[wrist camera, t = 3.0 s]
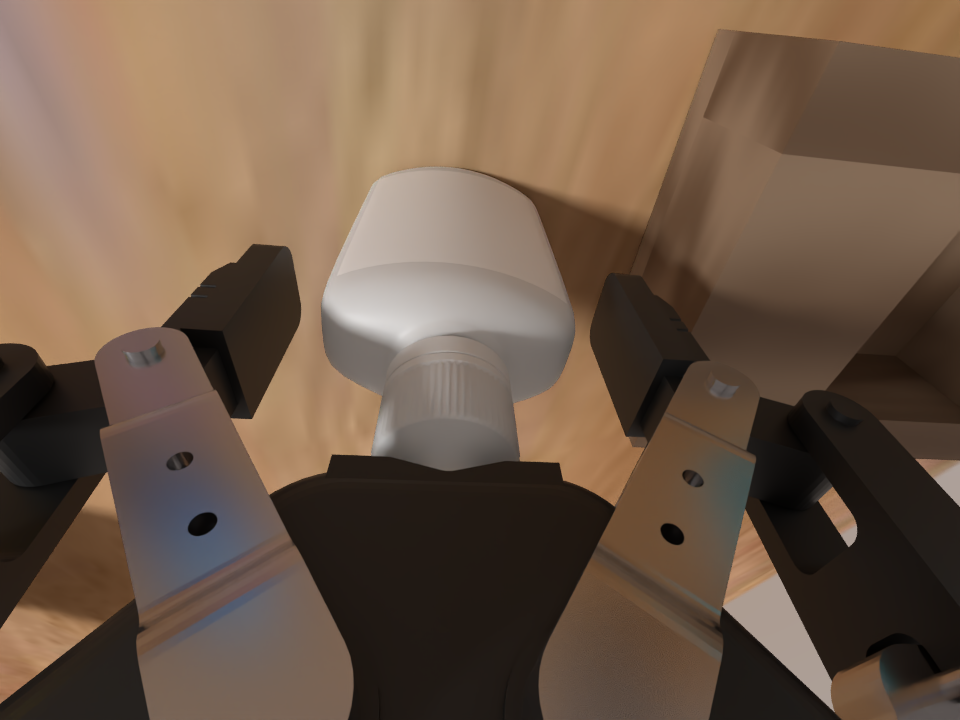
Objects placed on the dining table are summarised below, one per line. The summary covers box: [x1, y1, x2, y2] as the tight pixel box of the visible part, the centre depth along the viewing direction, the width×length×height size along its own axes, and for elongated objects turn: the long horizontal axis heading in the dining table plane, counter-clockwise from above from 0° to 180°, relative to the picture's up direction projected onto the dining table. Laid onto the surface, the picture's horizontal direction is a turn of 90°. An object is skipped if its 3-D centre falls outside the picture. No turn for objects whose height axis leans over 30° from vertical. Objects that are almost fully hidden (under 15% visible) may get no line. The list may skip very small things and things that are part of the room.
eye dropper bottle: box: [321, 167, 575, 471], centre depth 11 cm, size 4×6×12 cm
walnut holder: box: [629, 29, 960, 460], centre depth 15 cm, size 12×18×5 cm, turn 84°
